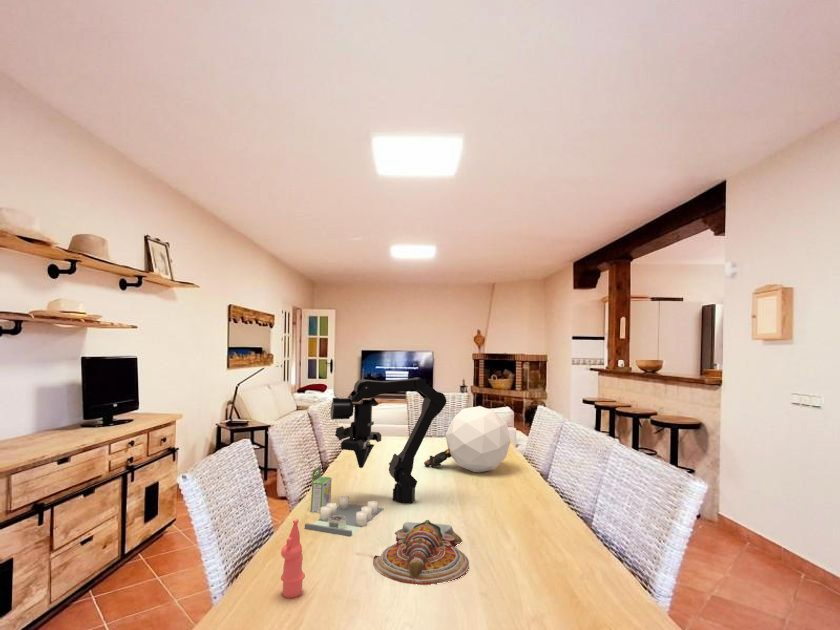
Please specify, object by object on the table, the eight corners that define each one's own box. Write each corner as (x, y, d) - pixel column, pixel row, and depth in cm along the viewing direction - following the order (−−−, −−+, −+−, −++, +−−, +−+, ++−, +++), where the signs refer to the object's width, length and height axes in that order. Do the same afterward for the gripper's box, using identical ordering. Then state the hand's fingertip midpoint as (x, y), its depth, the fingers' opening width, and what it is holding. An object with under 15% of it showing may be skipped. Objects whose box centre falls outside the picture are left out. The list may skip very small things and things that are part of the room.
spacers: (382, 511, 149) (382, 501, 149) (363, 527, 136) (364, 515, 136) (340, 505, 153) (340, 495, 153) (318, 519, 140) (318, 508, 141)
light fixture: (522, 456, 189) (488, 391, 198) (433, 501, 193) (403, 436, 202) (524, 453, 215) (493, 396, 223) (445, 493, 218) (418, 435, 227)
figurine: (281, 586, 103) (285, 514, 104) (306, 586, 104) (309, 514, 105) (276, 599, 98) (280, 523, 99) (302, 598, 99) (305, 523, 100)
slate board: (384, 512, 152) (384, 504, 152) (350, 540, 129) (350, 531, 129) (344, 506, 156) (344, 499, 156) (304, 532, 133) (304, 524, 134)
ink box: (322, 516, 146) (324, 471, 147) (309, 515, 147) (311, 470, 148) (330, 509, 153) (332, 466, 154) (319, 507, 154) (320, 465, 155)
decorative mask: (472, 510, 134) (468, 558, 105) (472, 538, 134) (467, 593, 104) (389, 504, 138) (362, 548, 108) (388, 531, 137) (361, 582, 108)
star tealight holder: (331, 523, 138) (331, 514, 138) (348, 525, 137) (349, 516, 137) (324, 528, 134) (325, 519, 134) (342, 530, 133) (343, 521, 133)
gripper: (353, 413, 169) (351, 459, 168) (326, 420, 151) (324, 471, 150) (382, 415, 165) (381, 462, 164) (359, 423, 147) (357, 475, 146)
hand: (361, 467), depth 156 cm, fingers closed
